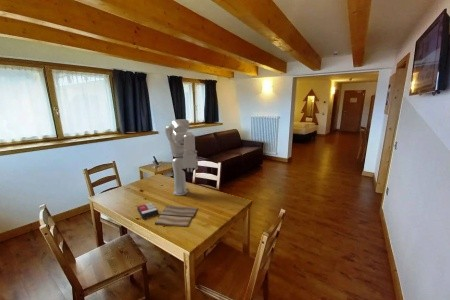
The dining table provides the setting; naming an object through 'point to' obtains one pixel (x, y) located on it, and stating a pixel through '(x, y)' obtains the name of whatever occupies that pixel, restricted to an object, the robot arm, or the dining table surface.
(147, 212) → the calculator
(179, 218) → the plank
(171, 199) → the dining table surface
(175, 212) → the laid row
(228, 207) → the dining table surface
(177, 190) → the robot arm
